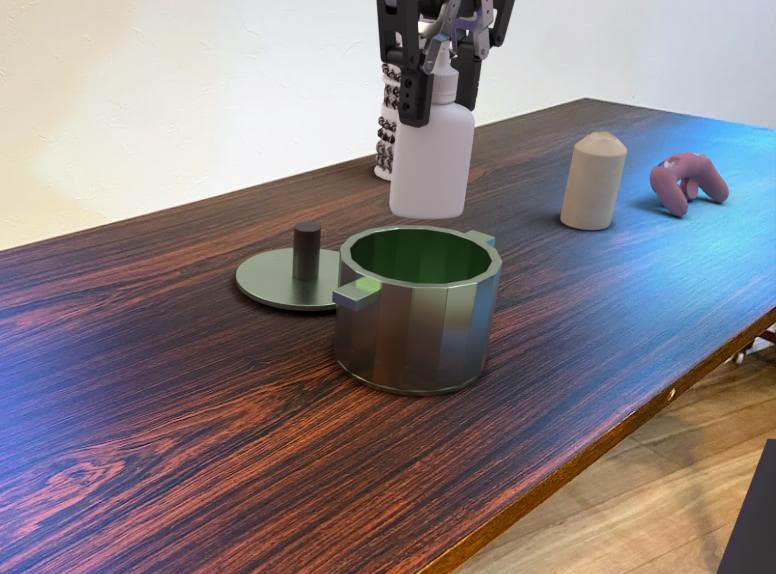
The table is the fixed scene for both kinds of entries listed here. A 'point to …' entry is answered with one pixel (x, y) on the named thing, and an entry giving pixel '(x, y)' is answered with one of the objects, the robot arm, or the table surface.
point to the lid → (293, 273)
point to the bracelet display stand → (394, 108)
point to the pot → (415, 308)
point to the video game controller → (686, 181)
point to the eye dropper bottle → (434, 154)
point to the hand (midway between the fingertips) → (436, 116)
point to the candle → (593, 181)
